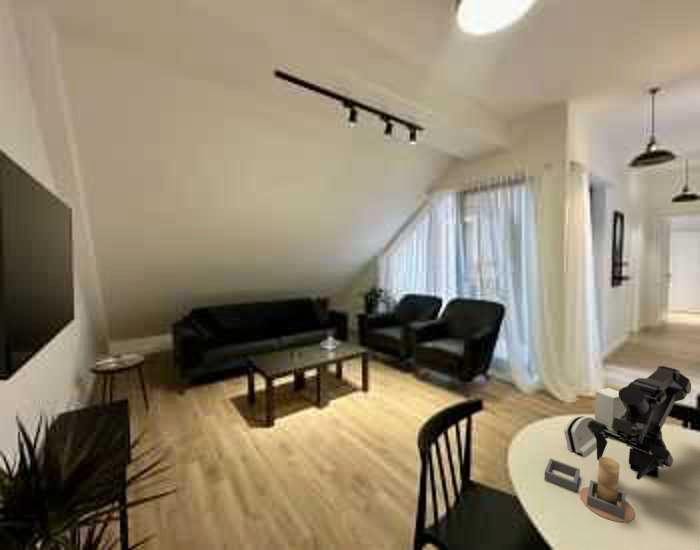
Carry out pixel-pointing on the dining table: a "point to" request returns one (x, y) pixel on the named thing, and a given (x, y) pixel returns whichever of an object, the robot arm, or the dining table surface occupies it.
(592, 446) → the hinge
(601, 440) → the robot arm
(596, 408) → the skincare box
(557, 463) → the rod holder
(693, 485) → the dining table surface
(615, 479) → the rod
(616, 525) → the dining table surface
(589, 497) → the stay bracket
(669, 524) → the dining table surface
